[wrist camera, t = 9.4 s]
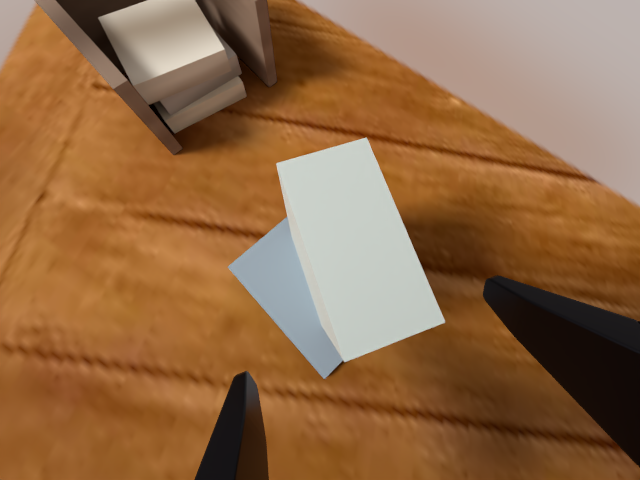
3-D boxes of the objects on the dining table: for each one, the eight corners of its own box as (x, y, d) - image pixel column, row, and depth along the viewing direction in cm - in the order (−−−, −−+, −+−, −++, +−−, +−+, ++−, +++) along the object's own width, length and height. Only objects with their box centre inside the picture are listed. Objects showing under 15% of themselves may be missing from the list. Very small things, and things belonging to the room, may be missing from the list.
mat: (421, 276, 18) (424, 275, 17) (323, 376, 16) (324, 379, 15) (330, 183, 19) (330, 180, 18) (229, 267, 17) (227, 266, 17)
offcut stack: (252, 98, 20) (238, 43, 16) (175, 139, 19) (136, 90, 15) (212, 42, 21) (188, -25, 17) (136, 78, 20) (89, 15, 16)
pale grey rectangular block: (366, 309, 17) (445, 322, 7) (321, 325, 16) (344, 362, 7) (333, 222, 18) (366, 137, 8) (291, 235, 17) (276, 163, 8)
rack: (277, 81, 20) (266, -6, 15) (173, 154, 19) (113, 88, 13) (206, 11, 21) (169, -96, 16) (101, 74, 20) (16, -21, 14)
